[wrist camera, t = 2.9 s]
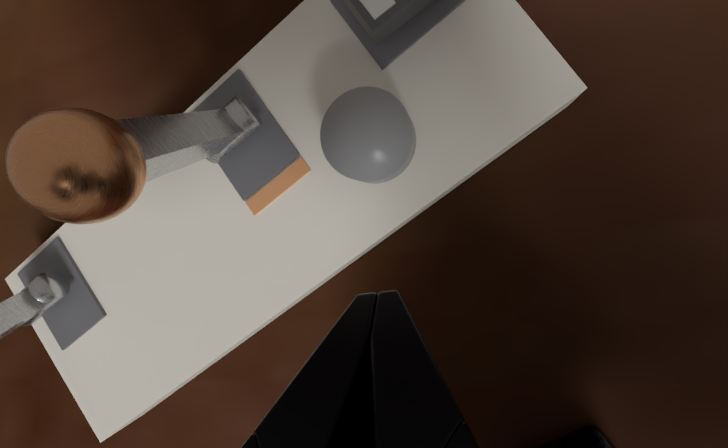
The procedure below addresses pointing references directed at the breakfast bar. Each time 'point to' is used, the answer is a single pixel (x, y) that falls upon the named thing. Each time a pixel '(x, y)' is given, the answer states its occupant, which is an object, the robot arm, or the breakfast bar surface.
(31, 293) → the lever
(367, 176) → the push button
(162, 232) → the control panel
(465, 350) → the breakfast bar surface
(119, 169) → the copper ball joystick
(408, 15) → the block
